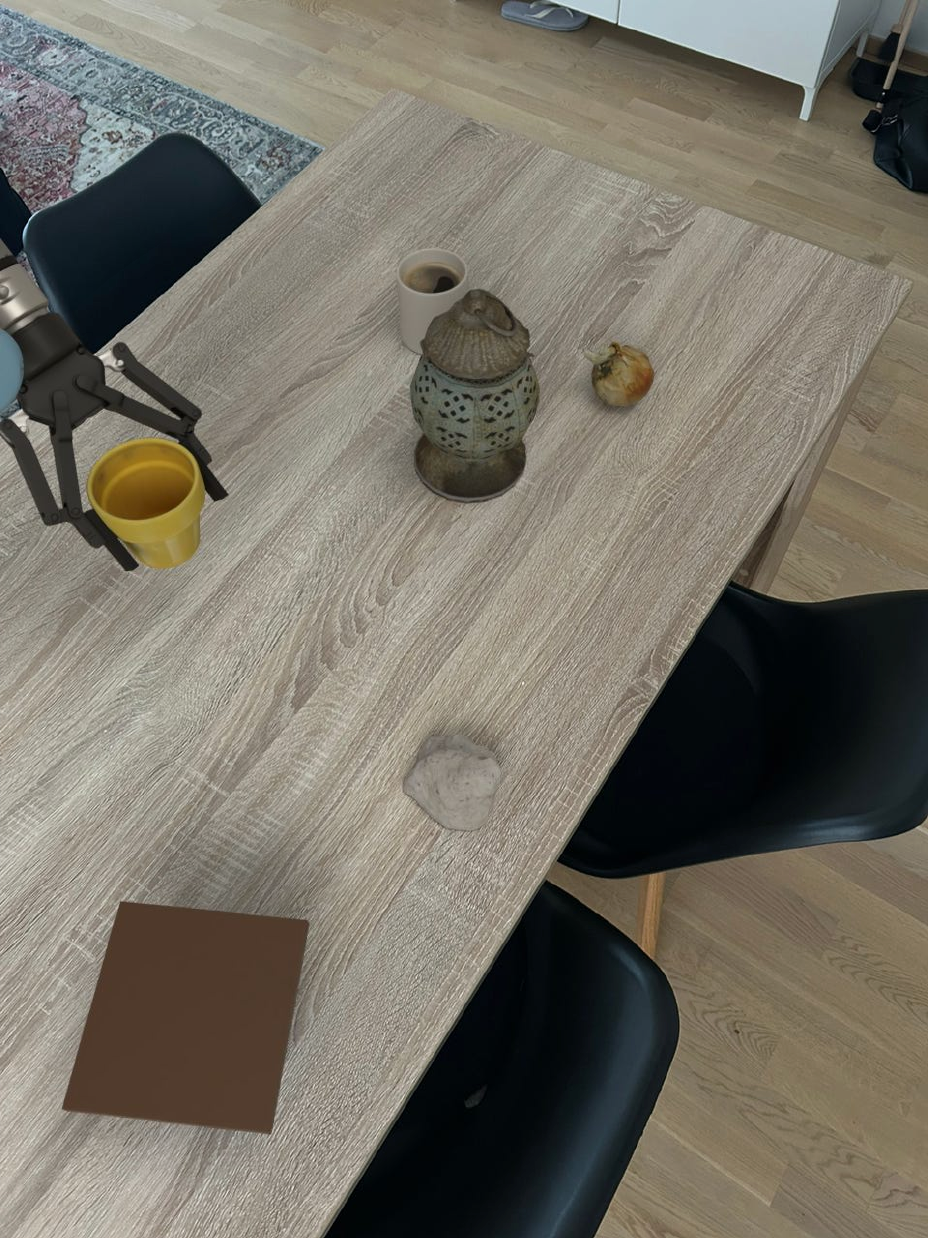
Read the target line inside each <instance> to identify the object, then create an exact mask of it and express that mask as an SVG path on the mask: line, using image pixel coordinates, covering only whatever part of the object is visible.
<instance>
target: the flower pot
mask: <svg viewBox="0 0 928 1238" xmlns="http://www.w3.org/2000/svg"><path fill="white" fill-rule="evenodd" d="M85 487H86V488H85V489H86V490H85V491H86V497H87V500H88V502H89V504H90V507H91V509H94V510H95V512H96V513H97V514H98V515H99V517H100V518H101V519H102V520H103V521H104V523H105V524H106V525H107V526H108V528H109V529H110V530H111V531H112V532H113V534H114V535H115V536H116V537H117V538H118V540H120V542H121V543H122V544H123V545H125V546H126V547H127V550H128V551H130V552H131V554H132V555H133V556H134V557H135V558H136V559H137V560H138V561H139V562H140V563H141V564H142V565H144V566H146V567H149V568H152V569H158V570H164V569H172V568H175V567H177V566H180V565H182V564H184V563H186V562H187V561H189V560H190V559H191V558H193V556H194V555H195V554H196V552H197V550H199V546H200V544H201V513H202V511H203V508H204V506H205V501H206V491H205V488H204V483H203V479H202V475H201V472H200V469H199V466H198V463H197V461H196V459H195V458H194V456H193V455H192V454H191V453H190V452H189V451H188V450H187V449H186V448H185V447H183V446H182V445H180V444H178V442H176V441H173V440H170V439H167V438H164V437H163V438H162V437H139V438H134V439H131V440H127V441H124V442H122V443H119V444H118V445H115V446H113V447H112V448H110V449H109V450H107V451H106V452H105V453H103V454H102V455H101V456H100V457H99V458H98V459H97V460H96V462H95V463H93V466H92V467H91V469H90V470H89V473H88V475H87V479H86V485H85Z"/></svg>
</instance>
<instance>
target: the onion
mask: <svg viewBox="0 0 928 1238" xmlns="http://www.w3.org/2000/svg"><path fill="white" fill-rule="evenodd" d="M582 354H583V357H584V358H585V359H587V361H589V362H590V363H592V364H593V367H592V369H591V373H590V375H591V384H592V388H593V390H594V392H595V394H596V396H597V397H599V399H600V400H602V401H603V402H604V403H606V404H608V405H610V406H612V407H613V406H614V407H627V406H631V405H635V404H636V403H638V402H640V401H641V400H642V399H643V398H644V397H645V398H646V395H647V394H648V393H649V391H650V390H651V387H652V386H653V383H654V380H655V379H654V378H655V371H654V368H653V366H652V363H651V361H650V359H649V357H648V355H646V353H644V352H643V350H641V349H638V348H636V347H634V346H633V345H629V344H624V345H622V344H621V343H620V342H617V341H611V342H610V343H609V345H607V344H604V349H603V351H602V353H600V352H597V351H594V350H592V349H590V348H589V347H587V348H585V349H584V350H583V353H582Z"/></svg>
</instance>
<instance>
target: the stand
mask: <svg viewBox="0 0 928 1238" xmlns="http://www.w3.org/2000/svg"><path fill="white" fill-rule="evenodd" d="M114 917H115V918H114V921H113V925H112V929H111V932H110V935H109V939H108V942H107V945H106V950H105V952H104V957H103V960H102V963H101V967H100V972H99V974H98V978H97V980H96V981H97V982H96V985H95V989H94V993H93V996H92V1000H91V1003H90V1006H89V1010H88V1014H87V1017H86V1021H85V1025H84V1028H83V1032H82V1035H81V1039H80V1042H79V1046H78V1050H77V1053H76V1056H75V1060H74V1063H73V1066H72V1071H71V1074H70V1078H69V1082H68V1085H67V1088H66V1092H65V1096H64V1099H63V1103H62V1106H61V1110H62V1111H65V1112H70V1113H79V1114H87V1115H96V1116H97V1115H98V1116H105V1117H113V1118H121V1119H131V1120H141V1121H147V1122H157V1123H165V1124H175V1125H183V1126H191V1127H192V1126H193V1127H201V1128H208V1129H209V1128H210V1129H217V1130H218V1129H219V1130H227V1131H236V1132H244V1133H252V1134H261V1135H270V1136H271V1135H272V1134H273V1129H274V1124H275V1123H274V1122H275V1118H276V1112H277V1107H278V1101H279V1095H280V1089H281V1084H282V1079H283V1074H284V1073H283V1072H284V1068H285V1062H286V1056H287V1051H288V1046H289V1040H290V1034H291V1029H292V1025H293V1017H294V1012H295V1007H296V1001H297V995H298V991H299V990H298V989H299V986H300V978H301V974H302V970H303V969H302V968H303V963H304V957H305V951H306V947H307V940H308V935H309V930H310V922H309V920H308V919H301V918H293V917H292V918H291V917H289V918H288V917H281V916H271V915H263V914H251V913H242V912H232V911H231V912H230V911H221V910H211V909H202V908H192V907H183V906H182V907H180V906H173V905H163V904H152V903H142V902H133V901H124V900H123V901H121V900H120V901H119V903H118V907H117V910H116V914H115V916H114Z"/></svg>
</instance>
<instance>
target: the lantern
mask: <svg viewBox="0 0 928 1238" xmlns="http://www.w3.org/2000/svg"><path fill="white" fill-rule="evenodd" d="M530 338H531V333H530V331H529V328H526V326H524V324H523V323H522V322H521V321H520V320H519V319H518V318H517V317H515V315H514V313H513V311H512V310H511V309H510V307H508V306H507V304H506V303H505V302H504V301H502V300H501V299H500V298H499V297H498V296H496V295H495V294H493V293H491V292H490V291H488V290H486V289H483V288H475V289H471V290H468V292H467V293H466V294H465V296H464V297H463V298H462V299H460V300H458V301H457V302H455V303H454V305H453V306H452V307H451V308H450V309H449V310H448V311H447V312H445V313H443V314H440V315H438V316H436V317H434V319H433V320H432V322H431V324H430V325H429V327H428V329H427V332H426V335H425V338H424V339H423V340H421V341H420V346H421V349H422V351H423V354H422V355H421V354H420V356H419V360H418V362H417V364H416V368H415V370H414V373H413V376H412V378H411V381H410V384H409V393H410V394H409V395H410V403H411V404H410V405H411V409H412V415H413V420H414V421H415V422H416V424H417V425H418V427H419V428H420V430H421V431H422V433H423V434H422V435H421V437H420V438H419V439H418V440H417V442H416V446H415V449H414V452H413V461H414V471H415V473H416V475H417V477H418V478H419V480H420V482H421V484H422V485H423V486H425V487H426V489H428V490H429V491H430V492H431V493H432V494H434V495H436V496H438V497H441V498H443V499H445V500H448V501H451V502H456V503H462V504H475V503H485V502H488V501H491V500H494V499H497V498H499V497H502V496H503V495H505V494H506V493H508V492H509V491H510V490H511V489H513V488H514V487H516V485H517V484H518V482H519V480H520V479H521V478H522V477H523V474H524V471H525V467H526V462H527V454H526V453H527V452H526V443H524V441H523V438H524V436H525V434H526V433H527V431H528V429H529V427H530V426H531V425H532V424H531V423H532V422H533V420H534V419H535V416H536V413H537V410H538V408H539V405H540V396H541V395H540V392H541V391H540V390H541V389H540V383H539V379H538V376H537V373H536V369H535V368H534V365H533V363H532V360H531V358H535V354H534V353H533V352H529V351H528V350H529V348H530V346H531V341H530Z"/></svg>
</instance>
